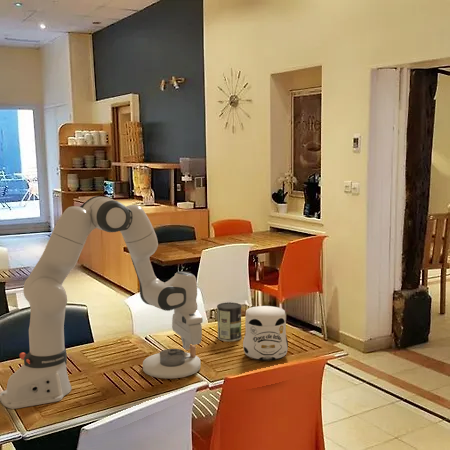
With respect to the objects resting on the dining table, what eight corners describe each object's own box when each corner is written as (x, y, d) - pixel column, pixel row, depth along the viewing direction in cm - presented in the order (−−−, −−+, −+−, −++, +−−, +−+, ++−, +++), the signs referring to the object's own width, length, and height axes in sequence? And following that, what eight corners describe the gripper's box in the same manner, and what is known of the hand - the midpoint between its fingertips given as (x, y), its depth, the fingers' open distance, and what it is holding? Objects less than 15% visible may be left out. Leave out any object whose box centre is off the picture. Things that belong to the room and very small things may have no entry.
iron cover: (167, 368, 204) (167, 356, 203) (155, 361, 211) (155, 349, 211) (189, 363, 209) (189, 351, 208) (177, 355, 216) (176, 344, 216)
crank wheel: (159, 383, 196) (159, 366, 196) (133, 364, 214) (132, 348, 213) (211, 369, 208) (211, 353, 207) (182, 352, 225) (182, 337, 224)
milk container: (264, 368, 211) (264, 321, 209) (233, 355, 224) (233, 310, 222) (297, 357, 222) (297, 312, 220) (266, 345, 235) (266, 302, 233)
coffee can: (241, 333, 250) (241, 302, 248) (241, 341, 240) (241, 308, 238) (217, 333, 250) (217, 302, 248) (216, 341, 240) (216, 308, 238)
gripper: (167, 308, 226) (168, 341, 228) (188, 322, 208) (189, 358, 210) (182, 305, 229) (183, 339, 231) (204, 319, 211) (205, 355, 213)
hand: (186, 348), depth 220 cm, fingers closed
